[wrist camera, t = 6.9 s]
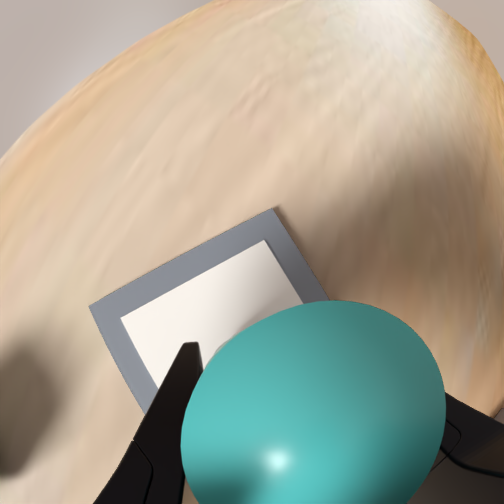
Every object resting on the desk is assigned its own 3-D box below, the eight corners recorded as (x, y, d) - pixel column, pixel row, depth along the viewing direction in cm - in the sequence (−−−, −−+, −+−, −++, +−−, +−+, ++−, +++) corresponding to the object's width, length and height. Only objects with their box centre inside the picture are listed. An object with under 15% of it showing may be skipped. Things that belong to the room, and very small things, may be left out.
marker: (302, 364, 15) (479, 389, 4) (253, 424, 14) (336, 574, 3) (241, 316, 15) (308, 242, 4) (190, 376, 14) (122, 462, 3)
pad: (384, 404, 17) (392, 406, 16) (217, 507, 14) (217, 514, 13) (269, 213, 19) (272, 206, 19) (93, 307, 17) (87, 305, 16)
